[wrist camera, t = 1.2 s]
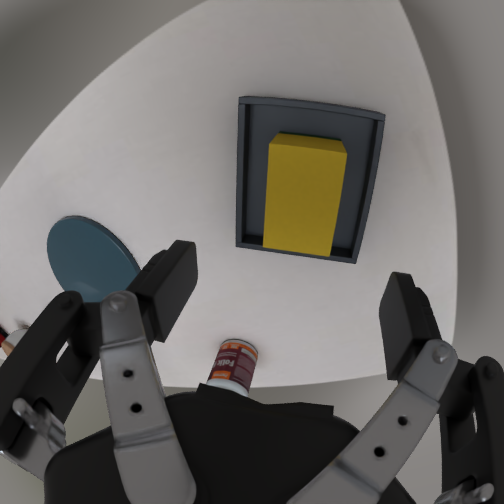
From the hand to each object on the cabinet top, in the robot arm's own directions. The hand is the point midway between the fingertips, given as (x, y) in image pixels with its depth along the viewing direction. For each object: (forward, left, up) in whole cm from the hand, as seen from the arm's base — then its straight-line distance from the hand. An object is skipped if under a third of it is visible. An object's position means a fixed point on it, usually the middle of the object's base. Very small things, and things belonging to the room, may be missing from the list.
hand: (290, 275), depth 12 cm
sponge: (0, 0, -12) cm, 12 cm away
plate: (+14, -24, -13) cm, 31 cm away
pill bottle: (+22, -5, -13) cm, 26 cm away
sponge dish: (0, 0, -13) cm, 13 cm away
